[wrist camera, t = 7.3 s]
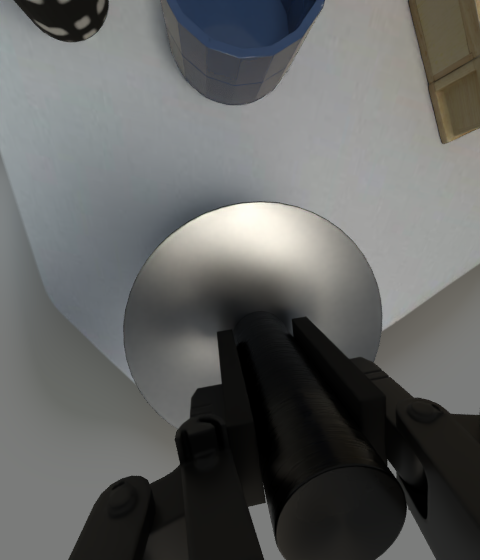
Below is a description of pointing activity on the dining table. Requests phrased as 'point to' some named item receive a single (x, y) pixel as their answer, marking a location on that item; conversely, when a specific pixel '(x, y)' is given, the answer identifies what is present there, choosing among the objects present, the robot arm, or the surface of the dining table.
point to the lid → (272, 363)
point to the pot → (237, 43)
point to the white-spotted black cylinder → (66, 17)
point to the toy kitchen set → (451, 61)
